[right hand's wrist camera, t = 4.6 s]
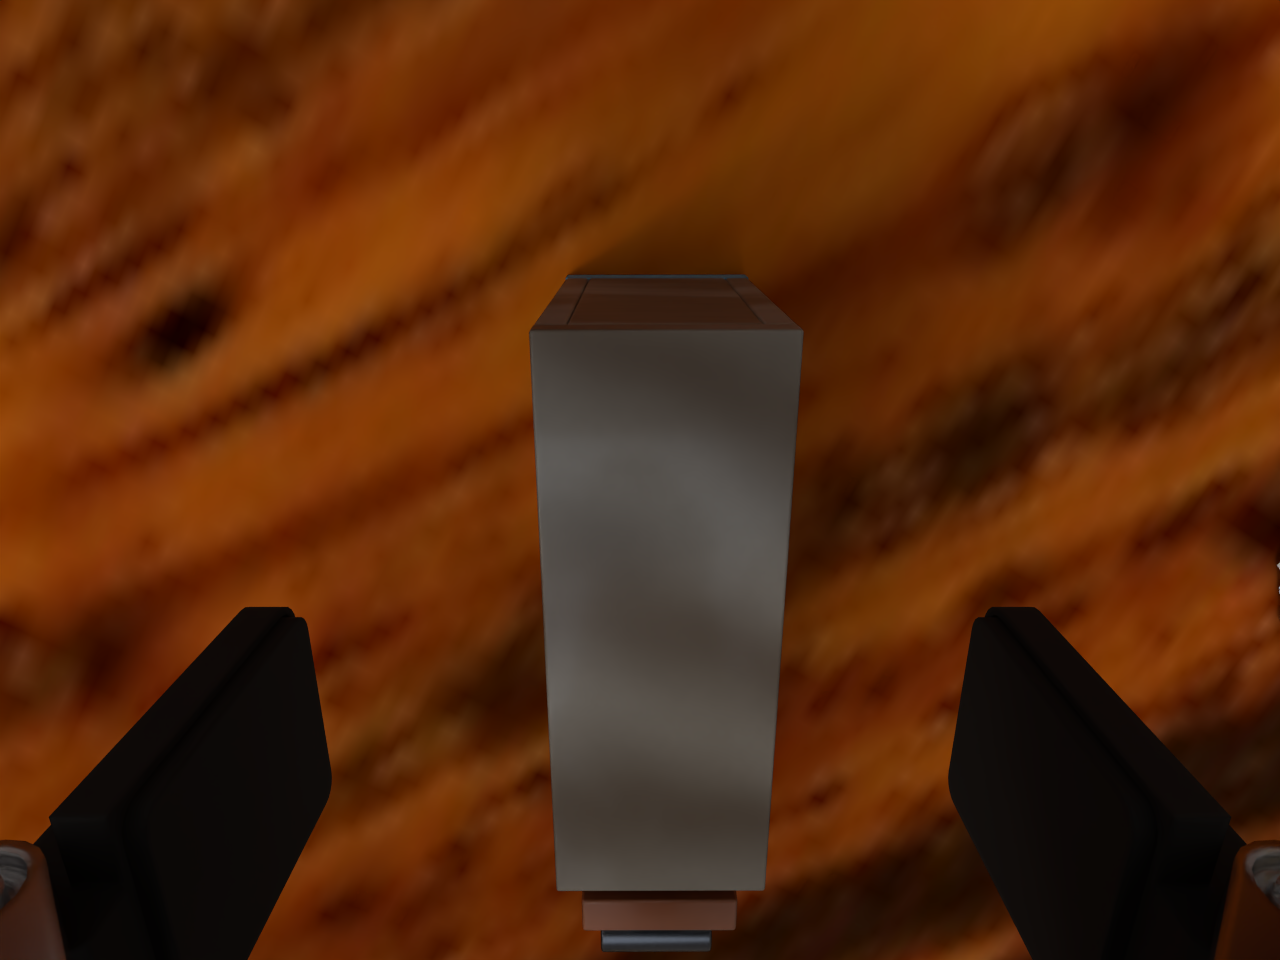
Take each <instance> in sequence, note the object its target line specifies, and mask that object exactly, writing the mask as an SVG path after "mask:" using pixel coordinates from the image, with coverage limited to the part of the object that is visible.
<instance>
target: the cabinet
mask: <svg viewBox="0 0 1280 960" xmlns="http://www.w3.org/2000/svg"><path fill="white" fill-rule="evenodd" d="M803 333H804V332H803V330H802V329H801V328H800V327H799V326H798V325H796V323H794V322H793V321H792V320H791V319H790V318H789V317H788V316H787V315H786V314H785V313H784V312H783V311H782V310H781V309H779V308H778V307H777V306H776V305H775V304H774V303H773V302H772V301H771V300H770V299H769V298H768V297H767V296H765V295H764V294H763V293H762V292H761V291H760V290H759V289H758V288H757V287H756V286H755V285H754V284H753V283H751V282H750V281H749V280H748V277H747V276H746V275H568V276H567V277H566V281H565V282H564V284H563V285H562V286H561V288H560V289H559V291H558V292H557V293H556V295H555V296H554V298H553V299H552V301H551V302H550V303H549V305H548V306H547V308H546V309H545V310H544V312H543V313H542V315H541V316H540V317H539V319H538V320H537V322H536V323H535V325H533V327H532V328H531V330H530V332H529V339H530V359H531V379H532V400H533V420H534V440H535V460H536V481H537V501H538V521H539V541H540V562H541V582H542V602H543V622H544V643H545V663H546V683H547V703H548V724H549V744H550V764H551V784H552V805H553V825H554V845H555V865H556V886H557V890H558V891H693V890H764V888H765V878H766V863H767V849H768V835H769V820H770V806H771V792H772V777H773V763H774V749H775V734H776V720H777V706H778V691H779V677H780V663H781V648H782V634H783V620H784V605H785V591H786V577H787V563H788V548H789V534H790V520H791V505H792V491H793V477H794V462H795V448H796V434H797V419H798V405H799V391H800V376H801V362H802V348H803Z"/></svg>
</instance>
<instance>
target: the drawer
mask: <svg viewBox="0 0 1280 960" xmlns="http://www.w3.org/2000/svg"><path fill="white" fill-rule="evenodd" d="M736 914H737V896H736V890H693V891H583V893H582V918H583V928H584V930H601V949H602V951H603V952H709V951H710V950H711V942H712V930H734V929H735V927H736Z"/></svg>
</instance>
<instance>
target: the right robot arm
mask: <svg viewBox="0 0 1280 960" xmlns="http://www.w3.org/2000/svg"><path fill="white" fill-rule="evenodd" d="M331 782H332V775H331V767H330V761H329V754H328V748H327V742H326V736H325V730H324V724H323V718H322V712H321V705H320V699H319V693H318V687H317V681H316V675H315V669H314V663H313V656H312V650H311V644H310V638H309V632H308V627H307V623H306V621H305V619H303V618H302V617H295V615H294V613H293V611H292V610H291V609H290V608H289V607H245V608H244V609H242V610H241V611H240V612H239V613H238V614H237V615H236V616H235V617H234V619H233V620H232V621H231V622H230V623H229V624H228V625H227V626H226V627H225V628H224V629H223V630H222V631H221V633H220V634H219V635H218V636H217V637H216V638H215V639H214V640H213V641H212V642H211V643H210V644H209V645H208V646H207V648H206V649H205V650H204V651H203V652H202V653H201V654H200V655H199V656H198V657H197V658H196V659H195V660H194V662H193V663H192V664H191V665H190V666H189V667H188V668H187V669H186V670H185V671H184V672H183V673H182V674H181V676H180V677H179V678H178V679H177V680H176V681H175V682H174V683H173V684H172V685H171V686H170V687H169V688H168V689H167V691H166V692H165V693H164V694H163V695H162V696H161V697H160V698H159V699H158V700H157V701H156V702H155V703H154V705H153V706H152V707H151V708H150V709H149V710H148V711H147V712H146V713H145V714H144V715H143V716H142V717H141V719H140V720H139V721H138V722H137V723H136V724H135V725H134V726H133V727H132V728H131V729H130V730H129V731H128V733H127V734H126V735H125V736H124V737H123V738H122V739H121V740H120V741H119V742H118V743H117V744H116V745H115V746H114V748H113V749H112V750H111V751H110V752H109V753H108V754H107V755H106V756H105V757H104V758H103V759H102V760H101V762H100V763H99V764H98V765H97V766H96V767H95V768H94V769H93V770H92V771H91V772H90V773H89V774H88V776H87V777H86V778H85V779H84V780H83V781H82V782H81V783H80V784H79V785H78V786H77V787H76V788H75V789H74V791H73V792H72V793H71V794H70V795H69V796H68V797H67V798H66V799H65V800H64V801H63V802H62V803H61V805H60V806H59V807H58V808H57V809H56V810H55V811H54V812H53V813H52V814H51V815H50V816H49V819H50V822H51V825H50V827H49V828H48V829H47V830H46V831H45V832H44V833H43V834H42V835H41V836H40V837H39V839H38V840H37V841H36V842H35V843H34V844H31V843H28V842H26V841H17V840H1V841H0V960H247V959H248V957H249V955H250V953H251V951H252V949H253V947H254V945H255V943H256V942H257V940H258V938H259V936H260V934H261V932H262V930H263V928H264V926H265V924H266V922H267V920H268V918H269V916H270V914H271V912H272V910H273V908H274V906H275V904H276V902H277V900H278V898H279V896H280V894H281V892H282V890H283V888H284V886H285V884H286V882H287V880H288V878H289V876H290V874H291V872H292V870H293V868H294V866H295V864H296V862H297V860H298V858H299V856H300V854H301V852H302V850H303V848H304V846H305V844H306V842H307V840H308V838H309V836H310V834H311V833H312V831H313V829H314V827H315V825H316V823H317V821H318V819H319V817H320V815H321V813H322V811H323V809H324V807H325V805H326V803H327V800H328V798H329V794H330V790H331ZM948 782H949V790H950V794H951V798H952V800H953V803H954V805H955V807H956V809H957V811H958V813H959V815H960V817H961V819H962V821H963V823H964V825H965V827H966V829H967V831H968V833H969V834H970V836H971V838H972V840H973V842H974V844H975V846H976V848H977V850H978V852H979V854H980V856H981V858H982V860H983V862H984V864H985V866H986V868H987V870H988V872H989V874H990V876H991V878H992V880H993V882H994V884H995V886H996V888H997V890H998V892H999V894H1000V896H1001V898H1002V900H1003V902H1004V904H1005V906H1006V908H1007V910H1008V912H1009V914H1010V916H1011V918H1012V920H1013V922H1014V924H1015V926H1016V928H1017V930H1018V932H1019V934H1020V936H1021V938H1022V940H1023V942H1024V943H1025V945H1026V947H1027V949H1028V951H1029V953H1030V955H1031V957H1032V959H1033V960H1280V841H1279V840H1263V841H1254V842H1252V843H1249V844H1246V843H1245V842H1244V841H1243V840H1242V839H1241V837H1240V836H1239V835H1238V834H1237V833H1236V832H1235V831H1234V830H1233V829H1232V828H1231V827H1230V825H1229V822H1230V819H1231V816H1230V815H1229V814H1228V813H1227V812H1226V811H1225V810H1224V809H1223V808H1222V807H1221V806H1220V805H1219V803H1218V802H1217V801H1216V800H1215V799H1214V798H1213V797H1212V796H1211V795H1210V794H1209V793H1208V792H1207V791H1206V789H1205V788H1204V787H1203V786H1202V785H1201V784H1200V783H1199V782H1198V781H1197V780H1196V779H1195V778H1194V777H1193V776H1192V774H1191V773H1190V772H1189V771H1188V770H1187V769H1186V768H1185V767H1184V766H1183V765H1182V764H1181V763H1180V762H1179V760H1178V759H1177V758H1176V757H1175V756H1174V755H1173V754H1172V753H1171V752H1170V751H1169V750H1168V749H1167V748H1166V746H1165V745H1164V744H1163V743H1162V742H1161V741H1160V740H1159V739H1158V738H1157V737H1156V736H1155V735H1154V734H1153V733H1152V731H1151V730H1150V729H1149V728H1148V727H1147V726H1146V725H1145V724H1144V723H1143V722H1142V721H1141V720H1140V719H1139V717H1138V716H1137V715H1136V714H1135V713H1134V712H1133V711H1132V710H1131V709H1130V708H1129V707H1128V706H1127V705H1126V703H1125V702H1124V701H1123V700H1122V699H1121V698H1120V697H1119V696H1118V695H1117V694H1116V693H1115V692H1114V691H1113V689H1112V688H1111V687H1110V686H1109V685H1108V684H1107V683H1106V682H1105V681H1104V680H1103V679H1102V678H1101V677H1100V676H1099V674H1098V673H1097V672H1096V671H1095V670H1094V669H1093V668H1092V667H1091V666H1090V665H1089V664H1088V663H1087V662H1086V660H1085V659H1084V658H1083V657H1082V656H1081V655H1080V654H1079V653H1078V652H1077V651H1076V650H1075V649H1074V648H1073V646H1072V645H1071V644H1070V643H1069V642H1068V641H1067V640H1066V639H1065V638H1064V637H1063V636H1062V635H1061V634H1060V633H1059V631H1058V630H1057V629H1056V628H1055V627H1054V626H1053V625H1052V624H1051V623H1050V622H1049V621H1048V620H1047V619H1046V617H1045V616H1044V615H1043V614H1042V613H1041V612H1040V611H1039V610H1038V609H1036V608H1035V607H991V608H990V609H989V610H988V611H987V613H986V615H985V617H978V618H977V619H975V621H974V623H973V627H972V632H971V638H970V644H969V650H968V656H967V663H966V669H965V675H964V681H963V687H962V693H961V699H960V705H959V712H958V718H957V724H956V730H955V736H954V742H953V748H952V754H951V761H950V767H949V774H948Z"/></svg>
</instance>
